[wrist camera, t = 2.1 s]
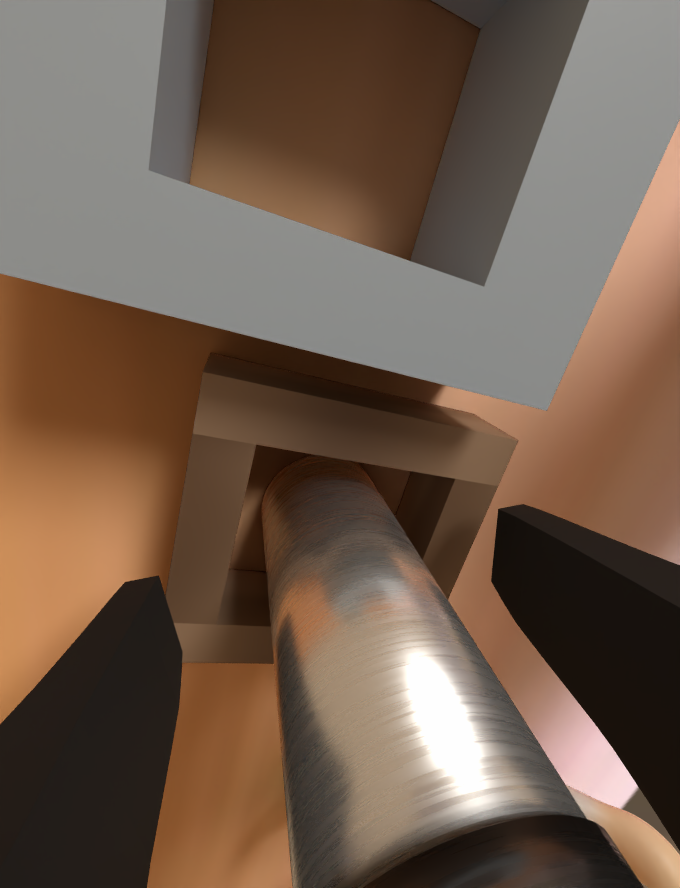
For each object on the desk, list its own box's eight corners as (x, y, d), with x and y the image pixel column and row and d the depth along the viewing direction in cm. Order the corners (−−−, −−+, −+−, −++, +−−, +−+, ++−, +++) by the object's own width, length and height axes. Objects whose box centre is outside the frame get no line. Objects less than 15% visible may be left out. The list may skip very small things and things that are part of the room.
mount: (473, 414, 11) (518, 440, 9) (394, 612, 13) (418, 665, 12) (210, 353, 9) (203, 372, 7) (168, 600, 11) (154, 662, 9)
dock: (598, -20, 8) (830, -213, 5) (455, 370, 11) (546, 410, 7) (89, -372, 5) (-130, -1304, 2) (59, 264, 8) (-64, 257, 5)
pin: (394, 461, 11) (751, 896, 3) (359, 562, 12) (568, 1072, 4) (273, 440, 10) (376, 993, 2) (246, 552, 11) (257, 1191, 3)
